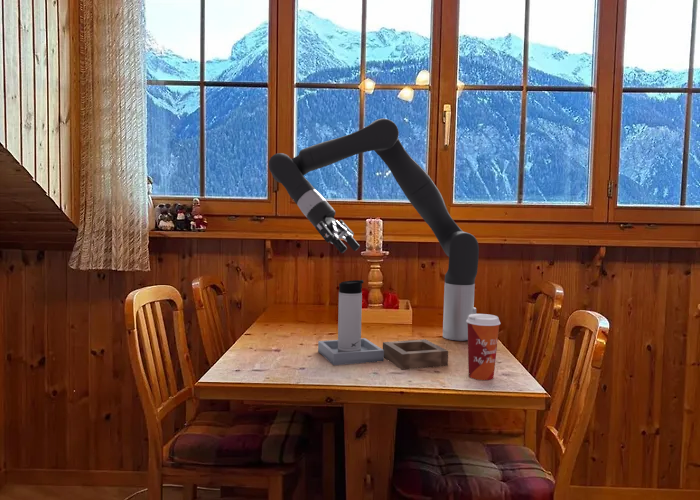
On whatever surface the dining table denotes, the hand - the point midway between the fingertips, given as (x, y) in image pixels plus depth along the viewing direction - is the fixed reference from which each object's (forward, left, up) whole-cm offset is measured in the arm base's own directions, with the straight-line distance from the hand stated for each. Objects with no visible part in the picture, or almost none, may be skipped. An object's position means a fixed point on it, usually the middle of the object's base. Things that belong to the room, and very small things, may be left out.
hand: (351, 250), depth 169 cm
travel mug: (+3, +9, -27) cm, 29 cm away
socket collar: (-12, +18, -28) cm, 36 cm away
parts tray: (+3, +9, -28) cm, 30 cm away
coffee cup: (-22, +35, -28) cm, 50 cm away
